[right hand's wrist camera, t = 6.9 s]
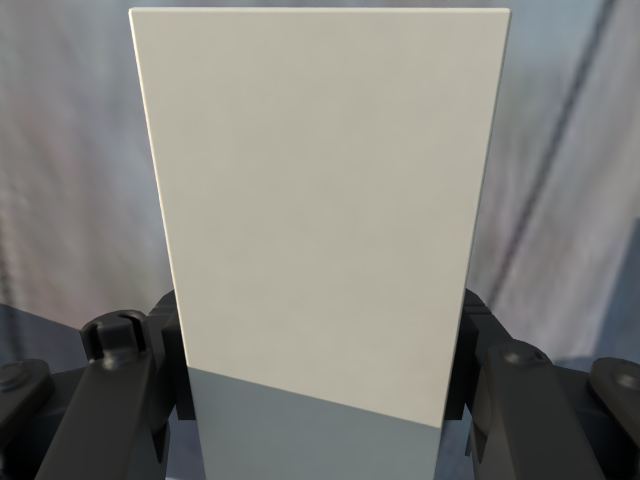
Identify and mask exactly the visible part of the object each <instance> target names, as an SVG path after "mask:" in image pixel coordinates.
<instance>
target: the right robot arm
mask: <svg viewBox="0 0 640 480" xmlns="http://www.w3.org/2000/svg"><path fill="white" fill-rule="evenodd" d="M79 332H80V335H81V338H82V342H83V345H84V348H85V352H86V355H87V358H88V362H89V363H88V365H87V367H84V368H80V369H75V370H71V371H66V372H61V373H56V374H52V375H51V372H50V369H49V366H48V364H47V363H46V362H44V361H43V360H38V359H27V360H20V361H16V362H12V363H9V364H6V365H3V366H1V367H0V480H165V477H166V468H167V459H168V451H169V442H170V427H169V422H168V418H169V416H170V414H171V412H172V409H173V407H174V405H175V404H176V409H177V414H178V419H179V420H196V416H195V410H194V404H193V398H192V392H191V386H190V380H189V374H188V367H187V361H186V355H185V349H184V343H183V337H182V331H181V325H180V319H179V313H178V307H177V301H176V295H175V289H174V290H172V291H171V292H169V293H168V294H166V295H164V296H163V297H162V298H161V300H160V301H159V302H158V303H157V304H156V306H155V308H153V309H152V311H151V312H150V313H149V316H147V317H146V315H145V314H143V313H142V312H141V311H136V310H119V311H115V312H111V313H107V314H104V315H102V316H99V317H97V318H95V319H93V320H92V321H90V322H89V323H87V324H86V325H85V326H84V327H83V328H82V329H81V330H80V331H79ZM465 403H466V405H467V407H468V409H469V411H470V413H471V415H472V422H471V426H470V431H469V436H468V440H467V445H466V451H465V456H469V457H470V452H471V450H472V458H473V467H474V476H475V480H640V365H639V364H637V363H634V362H629V361H628V360H623V359H617V358H610V357H607V358H599V359H597V360H596V361H595V362H593V365H592V367H591V370H590V373H587V372H582V371H577V370H572V369H567V368H563V367H558V366H555V365H553V364H552V362H551V361H550V359H549V358H548V357H547V355H546V354H545V353H543V352H542V351H541V350H539V349H538V348H537V347H535V346H533V345H530V344H528V343H526V342H523V341H520V340H516V339H513V338H512V337H511V336H510V334H509V333H508V332H507V331H506V330H505V328H504V327H503V326H502V325H501V323H500V322H499V321H498V320H497V319H496V317H495V316H494V315H492V312H491V311H490V310H489V309H488V308H487V307H485V304H484V303H483V301H482V300H481V299H480V298H479V297H478V295H476V294H475V293H473V292H471V291H470V290H468V289H467V288H466V290H465V296H464V302H463V308H462V314H461V320H460V326H459V332H458V338H457V344H456V350H455V356H454V362H453V367H452V373H451V379H450V385H449V391H448V397H447V403H446V409H445V415H444V420H462V416H463V411H464V406H465Z"/></svg>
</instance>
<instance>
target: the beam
mask: <svg viewBox="0 0 640 480" xmlns="http://www.w3.org/2000/svg"><path fill="white" fill-rule="evenodd" d="M511 17H512V10H510V9H508V8H261V7H133V8H131V9H129V18H130V24H131V30H132V36H133V43H134V49H135V55H136V61H137V67H138V73H139V79H140V85H141V91H142V97H143V103H144V109H145V115H146V121H147V127H148V133H149V139H150V145H151V151H152V157H153V163H154V169H155V175H156V181H157V187H158V193H159V199H160V205H161V211H162V217H163V223H164V229H165V235H166V241H167V247H168V253H169V259H170V265H171V271H172V277H173V283H174V289H175V295H176V301H177V307H178V313H179V319H180V325H181V331H182V337H183V343H184V349H185V355H186V361H187V367H188V374H189V380H190V386H191V392H192V398H193V404H194V410H195V416H196V422H197V428H198V434H199V440H200V446H201V452H202V458H203V464H204V470H205V476H206V480H434V474H435V468H436V462H437V456H438V451H439V445H440V439H441V433H442V427H443V421H444V415H445V409H446V403H447V397H448V391H449V385H450V379H451V373H452V367H453V362H454V356H455V350H456V344H457V338H458V332H459V326H460V320H461V314H462V308H463V302H464V296H465V290H466V284H467V278H468V273H469V267H470V261H471V255H472V249H473V243H474V237H475V231H476V225H477V219H478V213H479V207H480V201H481V195H482V189H483V184H484V178H485V172H486V166H487V160H488V154H489V148H490V142H491V136H492V130H493V124H494V118H495V112H496V106H497V101H498V95H499V89H500V83H501V77H502V71H503V65H504V59H505V53H506V47H507V41H508V35H509V29H510V23H511Z"/></svg>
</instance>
